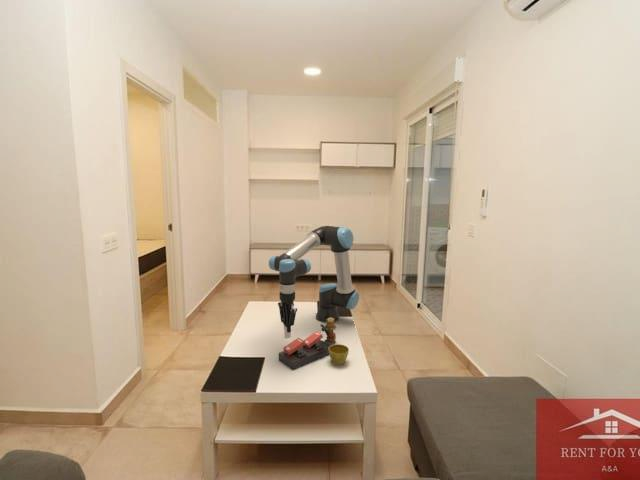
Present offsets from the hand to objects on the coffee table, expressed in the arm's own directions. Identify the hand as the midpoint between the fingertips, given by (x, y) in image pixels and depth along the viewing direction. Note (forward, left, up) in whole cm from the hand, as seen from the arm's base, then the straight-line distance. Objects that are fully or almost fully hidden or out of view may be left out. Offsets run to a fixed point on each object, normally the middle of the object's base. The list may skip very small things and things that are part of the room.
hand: (287, 337), depth 168 cm
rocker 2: (-16, 0, -6) cm, 17 cm away
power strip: (-10, +3, -13) cm, 16 cm away
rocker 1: (-4, 0, -6) cm, 7 cm away
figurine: (-30, -2, -13) cm, 33 cm away
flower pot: (-19, +17, -13) cm, 28 cm away
